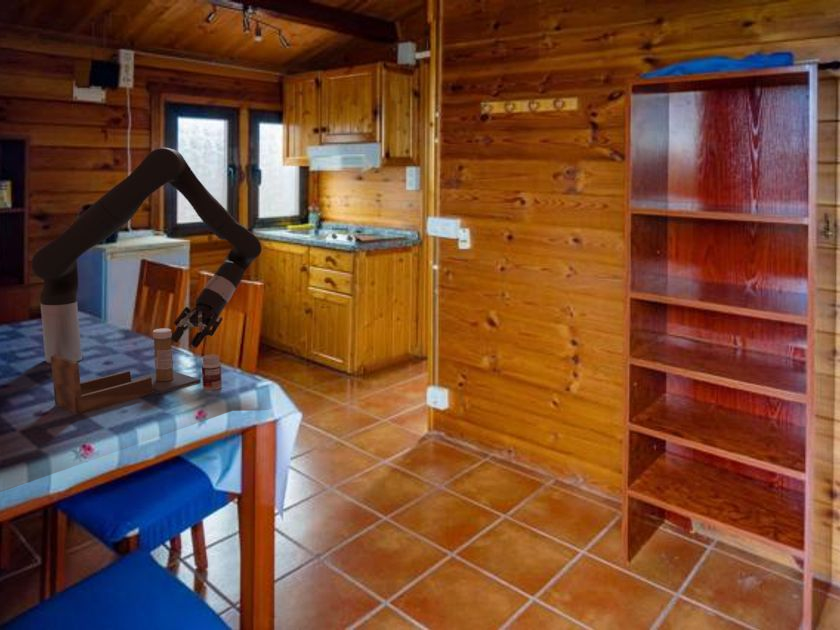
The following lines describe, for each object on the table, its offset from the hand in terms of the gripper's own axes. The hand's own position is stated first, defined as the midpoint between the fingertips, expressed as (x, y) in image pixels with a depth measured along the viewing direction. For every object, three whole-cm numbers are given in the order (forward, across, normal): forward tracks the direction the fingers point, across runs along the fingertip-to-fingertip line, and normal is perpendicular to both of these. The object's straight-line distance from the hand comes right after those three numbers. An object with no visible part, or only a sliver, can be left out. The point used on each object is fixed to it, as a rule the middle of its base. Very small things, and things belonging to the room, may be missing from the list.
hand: (183, 343), depth 179 cm
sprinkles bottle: (+10, 0, +2) cm, 11 cm away
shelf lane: (+23, 0, -10) cm, 25 cm away
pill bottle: (+8, +13, +6) cm, 16 cm away
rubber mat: (+11, 0, +2) cm, 11 cm away
